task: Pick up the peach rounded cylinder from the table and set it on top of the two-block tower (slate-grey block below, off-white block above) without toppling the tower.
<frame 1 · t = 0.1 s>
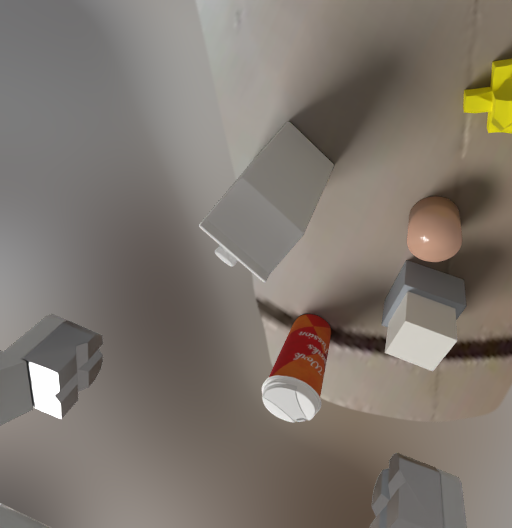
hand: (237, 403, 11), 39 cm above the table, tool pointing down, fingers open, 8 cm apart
peach rounded cylinder: (433, 217, 47), on the table
paper cup: (312, 326, 63), on the table
tower base block: (422, 289, 53), on the table, touching tower top block
milk carton: (292, 163, 49), on the table
tower top block: (420, 315, 49), point 5 cm above the table, touching tower base block
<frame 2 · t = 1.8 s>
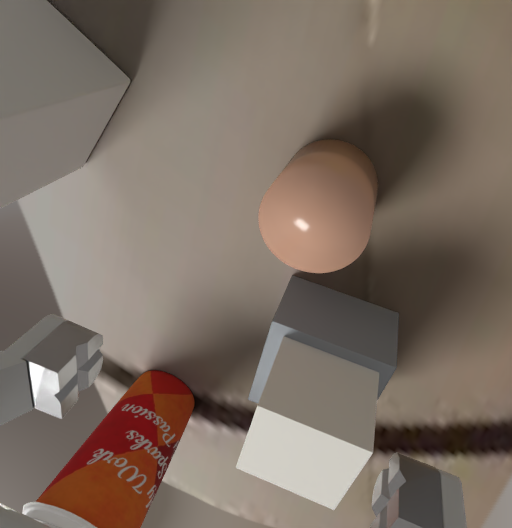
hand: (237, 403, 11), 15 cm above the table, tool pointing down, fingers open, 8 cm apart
peach rounded cylinder: (329, 186, 24), on the table
paper cup: (166, 391, 38), on the table
tower base block: (328, 331, 29), on the table, touching tower top block
milk carton: (63, 83, 25), on the table
tower top block: (316, 385, 25), point 5 cm above the table, touching tower base block
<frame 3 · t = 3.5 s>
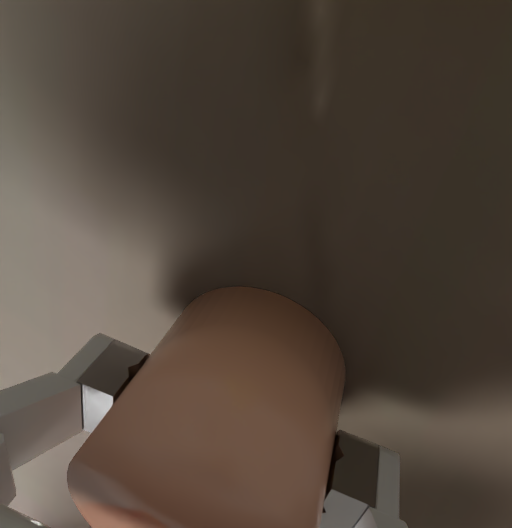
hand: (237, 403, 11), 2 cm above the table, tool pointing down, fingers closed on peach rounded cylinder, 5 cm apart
peach rounded cylinder: (256, 361, 12), on the table, touching gripper
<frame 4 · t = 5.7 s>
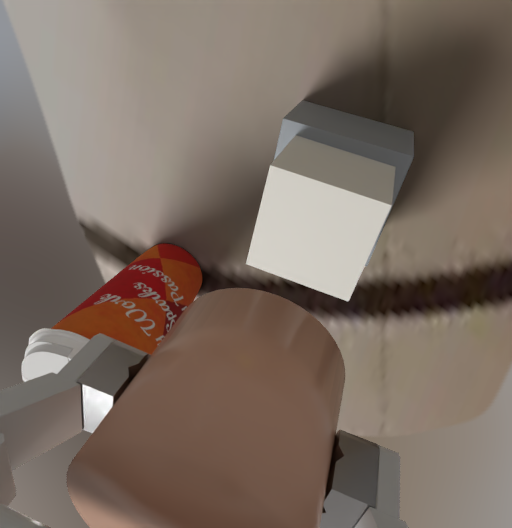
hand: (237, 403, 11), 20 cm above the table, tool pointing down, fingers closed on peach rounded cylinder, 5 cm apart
peach rounded cylinder: (255, 362, 12), point 19 cm above the table, touching gripper
paper cup: (173, 269, 37), on the table
tower base block: (340, 167, 28), on the table
tower top block: (328, 196, 24), point 5 cm above the table
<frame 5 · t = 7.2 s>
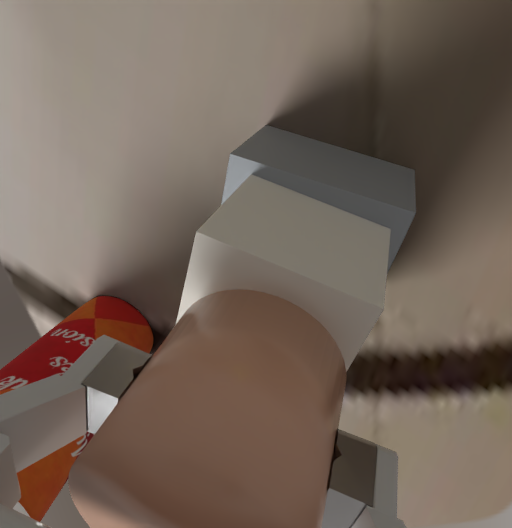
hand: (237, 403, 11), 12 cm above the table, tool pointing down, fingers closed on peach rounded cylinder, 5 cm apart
peach rounded cylinder: (256, 363, 12), point 11 cm above the table, touching gripper
paper cup: (119, 325, 30), on the table
tower base block: (317, 212, 21), on the table
tower top block: (296, 259, 17), point 5 cm above the table
when the fingers open (12 cm above the table, at t = 7.6 s): peach rounded cylinder stays where it is, resting on tower top block.
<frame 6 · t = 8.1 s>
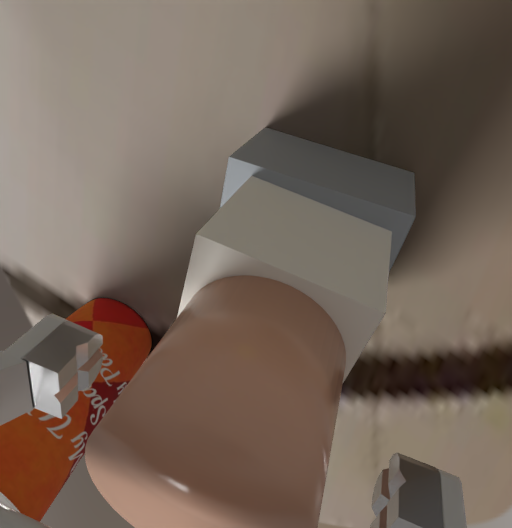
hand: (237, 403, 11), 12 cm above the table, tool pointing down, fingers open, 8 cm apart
peach rounded cylinder: (260, 347, 13), point 10 cm above the table, touching tower top block
paper cup: (117, 327, 30), on the table
tower base block: (316, 215, 21), on the table, touching tower top block
tower top block: (296, 262, 17), point 5 cm above the table, touching peach rounded cylinder, tower base block
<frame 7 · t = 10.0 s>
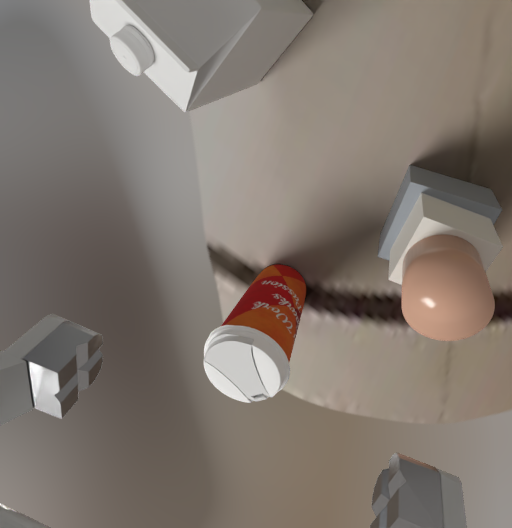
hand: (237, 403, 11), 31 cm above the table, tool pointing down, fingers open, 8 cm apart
peach rounded cylinder: (440, 267, 30), point 10 cm above the table, touching tower top block
paper cup: (281, 284, 47), on the table
tower base block: (432, 212, 38), on the table, touching tower top block
milk carton: (255, 19, 35), on the table
tower top block: (437, 235, 34), point 5 cm above the table, touching peach rounded cylinder, tower base block
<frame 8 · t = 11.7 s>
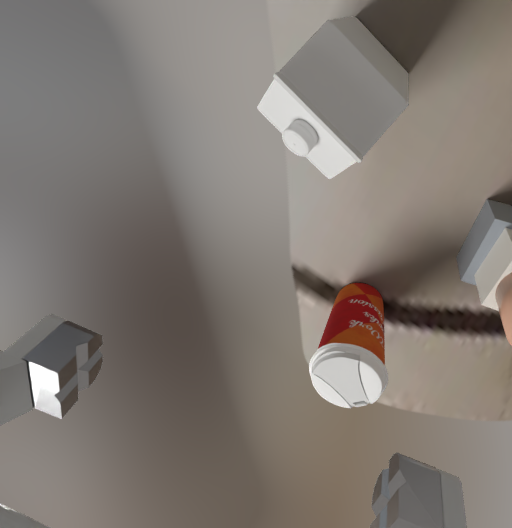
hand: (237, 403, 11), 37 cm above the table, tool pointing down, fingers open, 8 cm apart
paper cup: (359, 300, 52), on the table
tower base block: (505, 238, 44), on the table, touching tower top block
milk carton: (353, 76, 40), on the table
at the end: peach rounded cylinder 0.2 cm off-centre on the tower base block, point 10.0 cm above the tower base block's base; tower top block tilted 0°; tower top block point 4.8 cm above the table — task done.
